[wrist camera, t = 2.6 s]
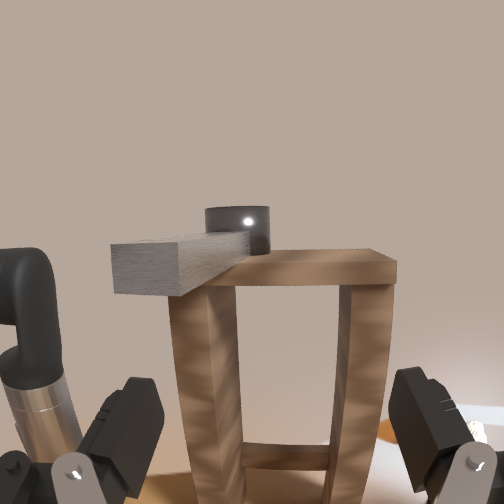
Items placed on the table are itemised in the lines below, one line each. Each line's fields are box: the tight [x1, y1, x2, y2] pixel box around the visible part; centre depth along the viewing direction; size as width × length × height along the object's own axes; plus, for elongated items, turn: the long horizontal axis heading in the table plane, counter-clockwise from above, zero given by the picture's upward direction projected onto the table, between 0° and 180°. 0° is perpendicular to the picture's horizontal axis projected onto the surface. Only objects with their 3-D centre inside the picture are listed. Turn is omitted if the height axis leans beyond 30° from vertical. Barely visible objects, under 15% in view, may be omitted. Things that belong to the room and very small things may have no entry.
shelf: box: [168, 249, 397, 504], centre depth 27 cm, size 16×10×32 cm, turn 80°
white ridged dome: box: [466, 421, 487, 444], centre depth 33 cm, size 6×6×7 cm
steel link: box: [110, 206, 271, 296], centre depth 22 cm, size 6×20×4 cm, turn 170°
